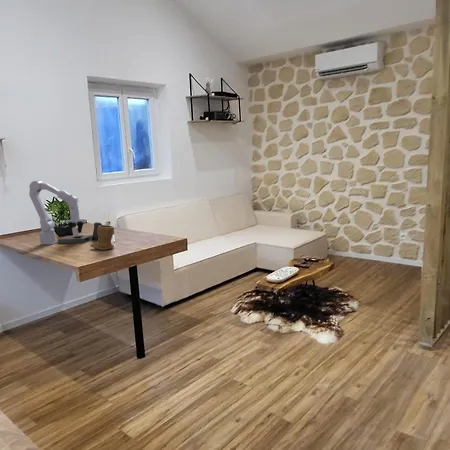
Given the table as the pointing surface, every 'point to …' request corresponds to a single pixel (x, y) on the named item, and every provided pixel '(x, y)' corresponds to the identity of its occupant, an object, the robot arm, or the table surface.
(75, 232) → the steel peg
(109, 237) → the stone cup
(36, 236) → the table surface
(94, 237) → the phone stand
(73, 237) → the square hole plate
